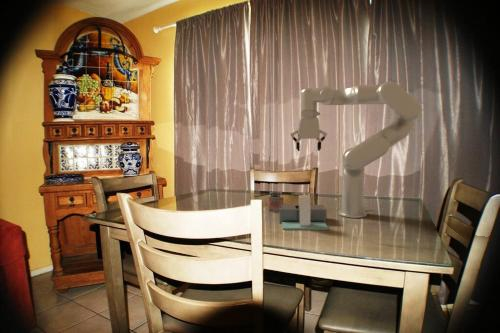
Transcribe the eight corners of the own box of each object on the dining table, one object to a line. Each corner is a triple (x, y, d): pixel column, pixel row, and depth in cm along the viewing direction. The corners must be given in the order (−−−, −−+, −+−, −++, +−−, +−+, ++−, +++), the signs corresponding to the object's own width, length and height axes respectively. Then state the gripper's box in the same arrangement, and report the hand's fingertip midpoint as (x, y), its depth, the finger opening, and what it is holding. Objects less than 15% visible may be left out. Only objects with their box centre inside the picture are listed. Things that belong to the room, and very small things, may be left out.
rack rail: (322, 217, 130) (322, 204, 130) (326, 223, 122) (326, 209, 121) (278, 217, 132) (278, 204, 131) (279, 223, 123) (279, 209, 122)
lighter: (267, 211, 143) (267, 191, 142) (269, 209, 146) (269, 190, 145) (282, 213, 139) (282, 193, 138) (284, 211, 142) (284, 191, 141)
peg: (308, 223, 119) (309, 195, 118) (310, 226, 115) (310, 197, 114) (298, 223, 119) (298, 195, 118) (299, 226, 115) (299, 197, 114)
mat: (324, 224, 121) (324, 222, 121) (328, 230, 113) (328, 228, 113) (281, 223, 122) (281, 222, 122) (282, 229, 114) (282, 227, 114)
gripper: (325, 115, 139) (325, 150, 141) (290, 116, 140) (290, 150, 142) (328, 114, 132) (328, 150, 134) (291, 114, 133) (291, 151, 135)
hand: (308, 150), depth 138 cm, fingers open, 9 cm apart
